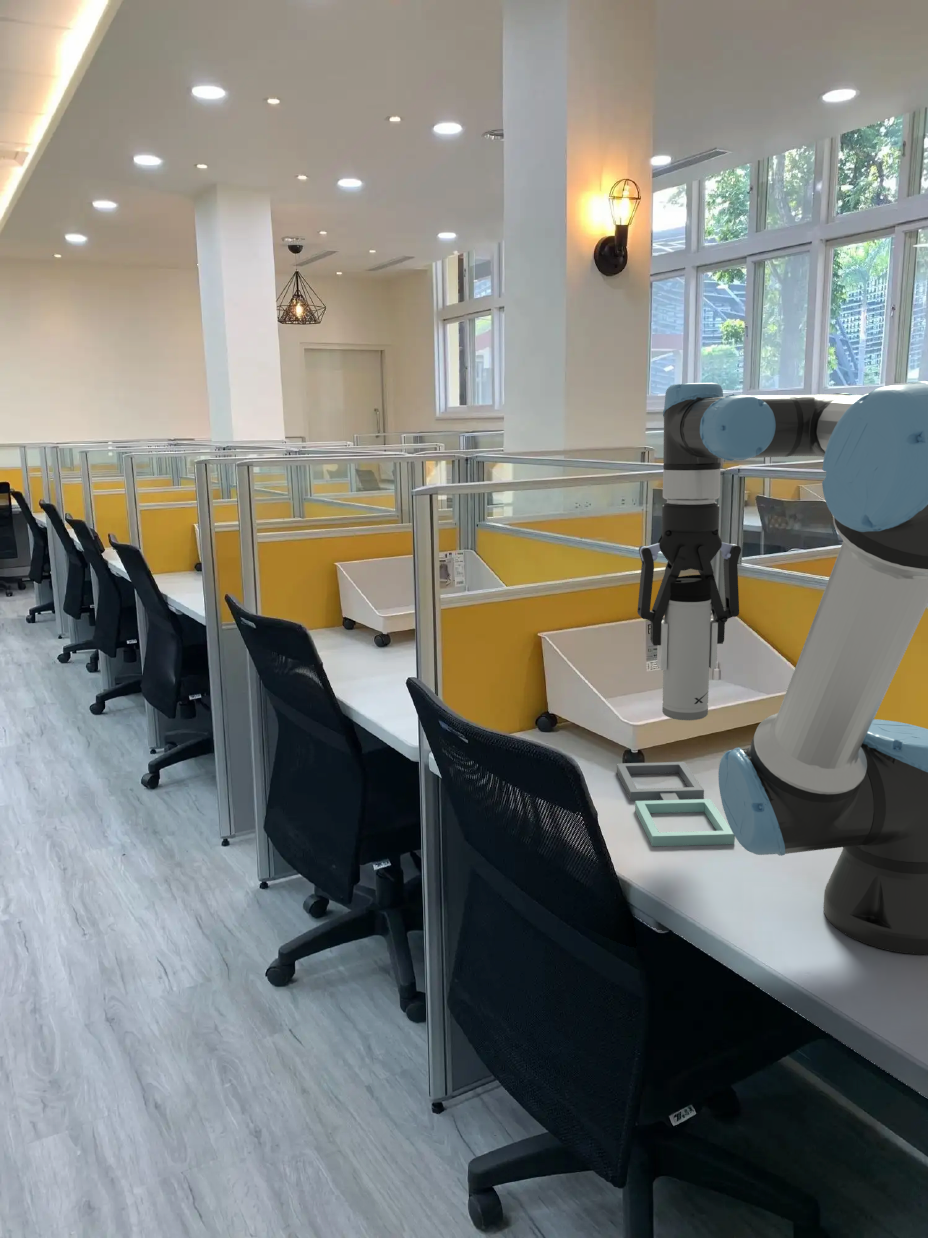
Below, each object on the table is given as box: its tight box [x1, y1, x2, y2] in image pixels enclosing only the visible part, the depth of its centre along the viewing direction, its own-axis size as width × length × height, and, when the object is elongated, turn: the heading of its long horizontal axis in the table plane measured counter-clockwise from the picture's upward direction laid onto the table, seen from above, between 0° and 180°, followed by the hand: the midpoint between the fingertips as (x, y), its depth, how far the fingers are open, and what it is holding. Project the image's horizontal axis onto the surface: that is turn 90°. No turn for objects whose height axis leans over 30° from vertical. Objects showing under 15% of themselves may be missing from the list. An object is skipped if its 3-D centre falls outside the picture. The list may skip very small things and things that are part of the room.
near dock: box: [634, 798, 736, 847], centre depth 134 cm, size 12×11×2 cm
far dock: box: [616, 761, 705, 802], centre depth 148 cm, size 16×11×2 cm
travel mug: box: [662, 574, 715, 721], centre depth 129 cm, size 6×7×20 cm
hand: (686, 666), depth 130 cm, fingers closed on travel mug, 6 cm apart
